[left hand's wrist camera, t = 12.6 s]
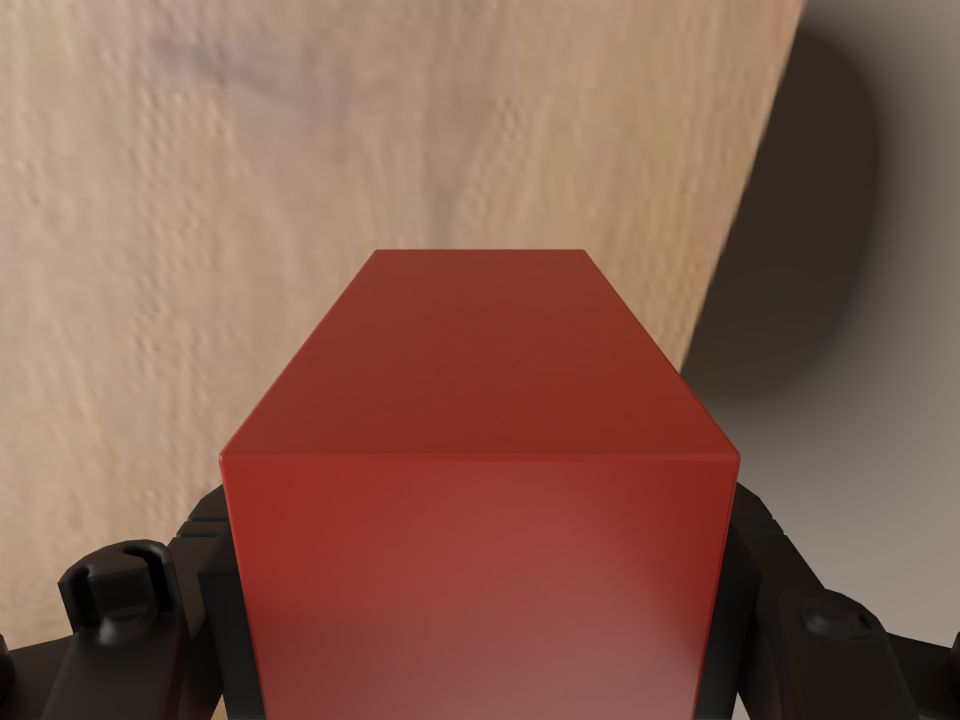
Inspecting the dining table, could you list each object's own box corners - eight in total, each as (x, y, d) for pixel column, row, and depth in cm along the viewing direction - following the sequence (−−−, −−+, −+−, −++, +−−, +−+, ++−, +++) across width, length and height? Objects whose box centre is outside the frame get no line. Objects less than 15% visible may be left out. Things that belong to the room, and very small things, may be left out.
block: (572, 449, 20) (676, 828, 9) (387, 449, 20) (283, 827, 9) (585, 249, 17) (745, 454, 7) (374, 248, 17) (214, 455, 7)
